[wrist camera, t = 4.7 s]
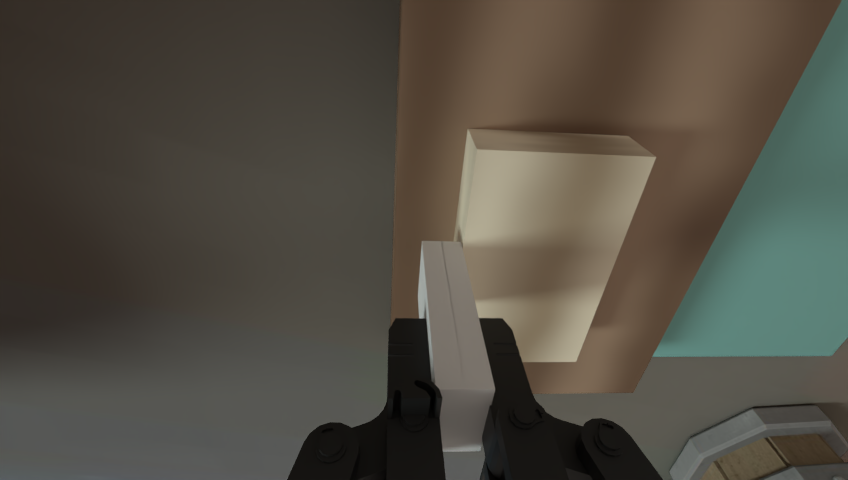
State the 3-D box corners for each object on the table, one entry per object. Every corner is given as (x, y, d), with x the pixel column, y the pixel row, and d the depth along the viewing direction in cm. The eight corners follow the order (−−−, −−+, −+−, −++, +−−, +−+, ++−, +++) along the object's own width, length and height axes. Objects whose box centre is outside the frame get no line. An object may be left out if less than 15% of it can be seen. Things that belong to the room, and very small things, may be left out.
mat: (606, 350, 28) (610, 356, 28) (781, -45, 16) (791, -45, 16) (825, 350, 30) (831, 355, 29) (1135, -15, 18) (1154, -14, 17)
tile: (442, 329, 21) (446, 362, 19) (467, 128, 15) (477, 149, 13) (561, 330, 21) (575, 361, 19) (628, 135, 16) (656, 157, 14)
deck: (390, 340, 26) (389, 395, 23) (401, -44, 15) (403, -45, 12) (604, 340, 28) (633, 392, 24) (756, -16, 17) (846, -9, 13)
